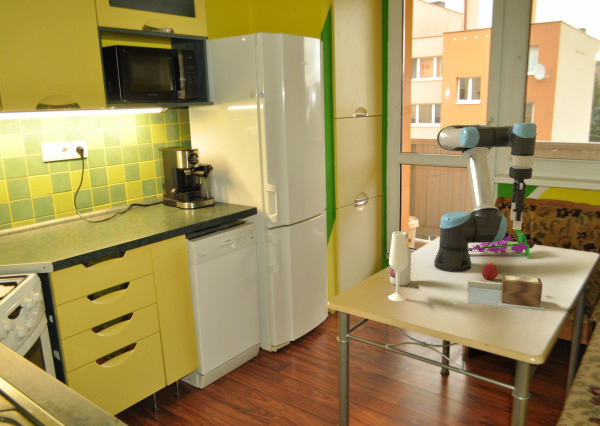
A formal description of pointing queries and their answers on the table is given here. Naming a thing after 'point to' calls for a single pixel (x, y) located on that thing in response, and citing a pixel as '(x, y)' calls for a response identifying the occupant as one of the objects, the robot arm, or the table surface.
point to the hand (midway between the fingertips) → (515, 224)
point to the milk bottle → (405, 273)
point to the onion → (489, 271)
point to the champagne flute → (398, 260)
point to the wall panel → (491, 295)
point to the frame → (521, 291)
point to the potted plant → (517, 247)
